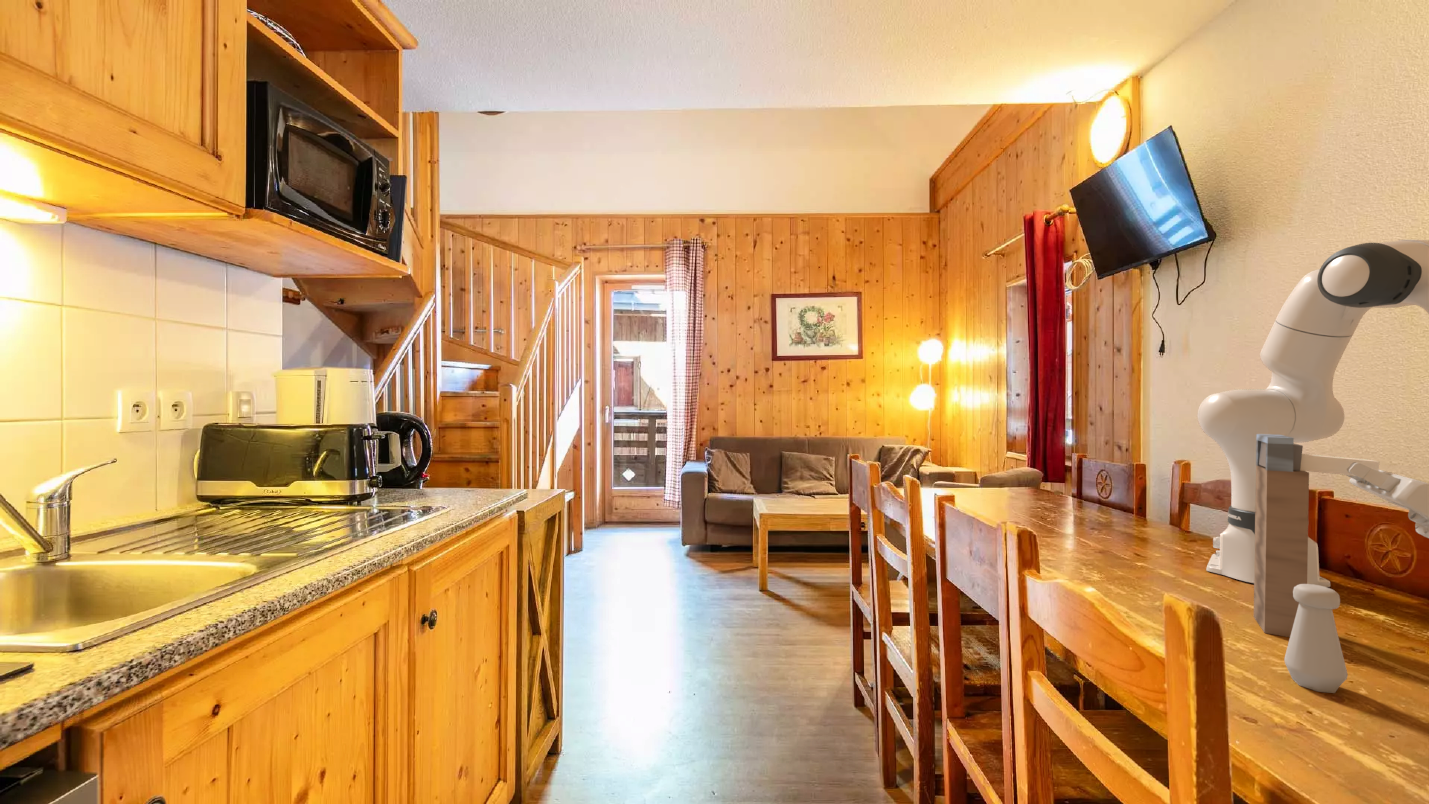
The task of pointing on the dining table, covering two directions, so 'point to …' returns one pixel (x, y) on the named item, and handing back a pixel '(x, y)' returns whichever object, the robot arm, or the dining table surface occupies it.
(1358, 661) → the dining table surface
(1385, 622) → the dining table surface
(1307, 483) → the post
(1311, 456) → the cream bar
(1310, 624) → the salt shaker
